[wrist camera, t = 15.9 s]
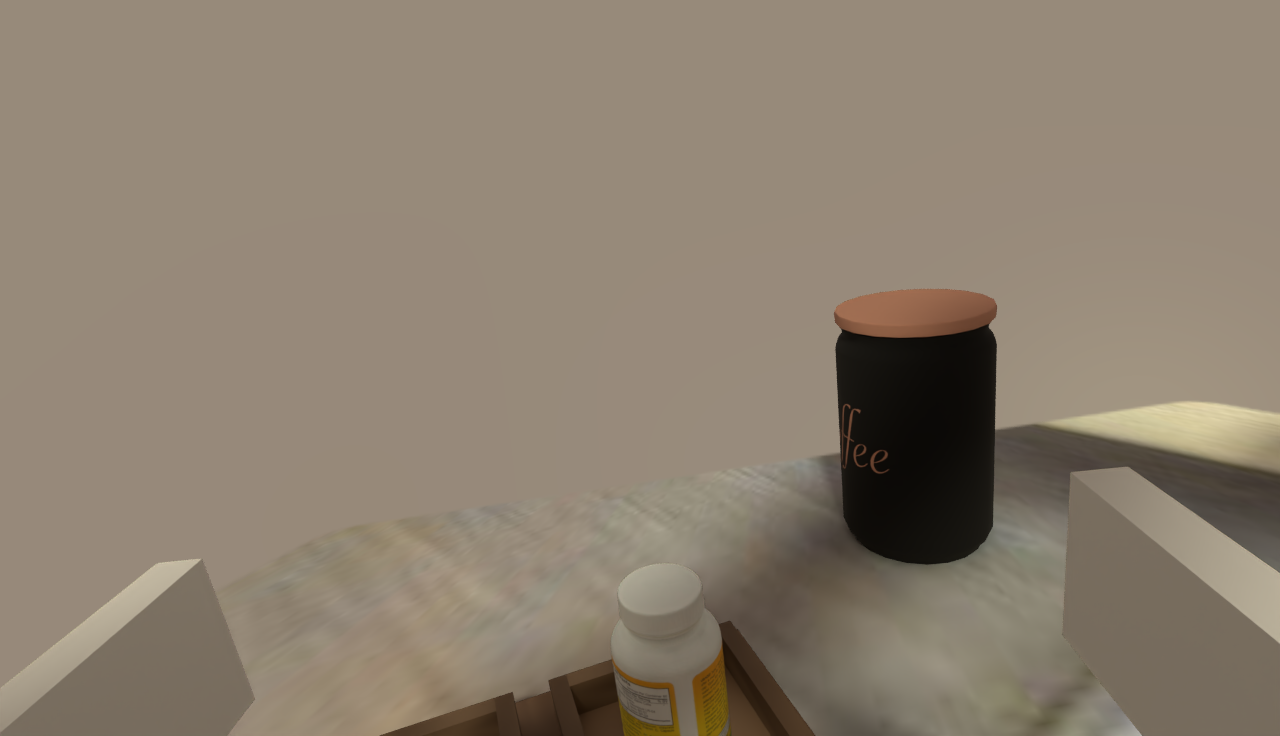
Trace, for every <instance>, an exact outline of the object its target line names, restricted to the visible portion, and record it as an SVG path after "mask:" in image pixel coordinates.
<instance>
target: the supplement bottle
mask: <svg viewBox="0 0 1280 736" xmlns="http://www.w3.org/2000/svg"><path fill="white" fill-rule="evenodd" d="M617 597H618V604H619V615H620V620H619V621H618V623H617V624H616V626H615V628H614V630H613V633H612V637H611V656H612V662H613V668H614V674H615V681H616V687H617V693H618V700H619V706H620V712H621V718H622V725H623V731H624V736H731V726H730V717H729V707H728V697H727V687H726V677H725V667H724V656H723V647H722V637H721V631H720V627H719V625H718V623H717V621H716V619H715V618H714V616H713V615H712V614H711V613H710V612H709V611H708V610H707V609H706V608H705V601H704V597H703V589H702V584H701V581H700V578H699V577H698V575H697V574H696V573H695V572H694V571H692V570H691V569H689V568H687V567H685V566H682V565H678V564H671V563H660V564H652V565H648V566H645V567H642V568H640V569H637V570H635V571H633V572H632V573H630V574H629V575H628V576H626V577H625V578H624V579H623V580H622V582H621V583H620V585H619V588H618V593H617Z"/></svg>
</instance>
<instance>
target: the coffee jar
mask: <svg viewBox="0 0 1280 736" xmlns="http://www.w3.org/2000/svg"><path fill="white" fill-rule="evenodd" d="M996 312H997V305H996V303H995V301H994V299H992V298H990V297H988V296H985V295H983V294H978V293H974V292H969V291H961V290H950V289H913V290H897V291H889V292H880V293H875V294H870V295H865V296H860V297H857V298H854V299H851V300H847V301H845V302H843V303H842V304H840V305H838V306H837V307H836V310H835V312H834V317H835V323H836V324H837V325H838V326H839V327H840V328H841V330H842V333H841V334H840V336H839V337H838V340H837V343H836V368H837V388H838V408H839V429H840V448H841V449H840V450H841V470H842V490H843V511H844V518H845V520H846V522H847V524H848V526H849V528H850V530H851V532H852V533H853V534H854V535H855V536H856V538H857V540H858V541H859V542H861V543H862V544H863V545H864V546H865V547H866V548H868V549H869V550H871V551H873V552H875V553H877V554H879V555H881V556H883V557H886V558H890V559H894V560H898V561H902V562H906V563H917V564H937V563H948V562H951V561H955V560H958V559H961V558H965V557H967V556H968V555H970V554H971V553H973V552H974V551H975V550H977V549H978V547H979V546H980V545H981V544H982V543H983V542H985V540H986V538H987V536H988V534H989V532H990V531H991V529H992V527H993V492H994V446H995V399H996V397H995V395H996V352H997V349H996V348H997V344H996V339H995V337H994V334H993V332H992V331H991V330H990V329H989V324H990V322H991V321H992V320H993V319H994V318H995V317H996Z"/></svg>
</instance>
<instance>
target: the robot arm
mask: <svg viewBox="0 0 1280 736" xmlns="http://www.w3.org/2000/svg"><path fill="white" fill-rule="evenodd" d="M1062 635H1063V636H1064V638H1065V639H1066V640H1067V641H1068V643H1069V644H1070V645H1071V647H1072V648H1073V649H1074V650H1075V652H1076V653H1077V654H1078V655H1079V657H1080V658H1081V659H1082V660H1083V662H1084V663H1085V664H1086V665H1087V667H1088V668H1089V669H1090V670H1091V672H1092V673H1093V674H1094V675H1095V677H1096V678H1097V679H1098V680H1099V682H1100V683H1101V684H1102V685H1103V687H1104V688H1105V689H1106V691H1107V692H1108V693H1109V694H1110V696H1111V697H1112V698H1113V699H1114V701H1115V702H1116V703H1117V704H1118V706H1119V707H1120V708H1121V709H1122V711H1123V712H1124V713H1125V714H1126V716H1127V717H1128V718H1129V719H1130V721H1131V722H1132V723H1133V724H1134V726H1135V727H1136V728H1137V730H1138V731H1139V732H1140V733H1141V735H1142V736H1280V573H1279V572H1277V571H1276V570H1275V569H1273V568H1272V567H1270V566H1269V565H1267V564H1266V563H1265V562H1263V561H1262V560H1260V559H1259V558H1257V557H1256V556H1255V555H1253V554H1252V553H1250V552H1249V551H1247V550H1246V549H1245V548H1243V547H1242V546H1240V545H1239V544H1238V543H1236V542H1235V541H1233V540H1232V539H1230V538H1229V537H1228V536H1226V535H1225V534H1223V533H1222V532H1220V531H1219V530H1218V529H1216V528H1215V527H1213V526H1212V525H1210V524H1209V523H1208V522H1206V521H1205V520H1203V519H1202V518H1200V517H1199V516H1198V515H1196V514H1195V513H1193V512H1192V511H1190V510H1189V509H1188V508H1186V507H1185V506H1183V505H1182V504H1181V503H1179V502H1178V501H1176V500H1175V499H1173V498H1172V497H1171V496H1169V495H1168V494H1166V493H1165V492H1163V491H1162V490H1161V489H1159V488H1158V487H1156V486H1155V485H1153V484H1152V483H1151V482H1149V481H1148V480H1146V479H1145V478H1143V477H1142V476H1141V475H1139V474H1138V473H1136V472H1135V471H1133V470H1132V469H1131V468H1129V467H1118V468H1107V469H1097V470H1087V471H1077V472H1070V492H1069V512H1068V532H1067V552H1066V572H1065V592H1064V612H1063V632H1062ZM254 700H255V697H254V694H253V691H252V689H251V686H250V683H249V681H248V678H247V676H246V673H245V670H244V668H243V665H242V662H241V660H240V657H239V654H238V652H237V649H236V646H235V644H234V641H233V639H232V636H231V633H230V631H229V628H228V625H227V623H226V620H225V617H224V615H223V612H222V610H221V607H220V604H219V602H218V599H217V596H216V594H215V591H214V589H213V586H212V583H211V580H210V578H209V575H208V573H207V570H206V567H205V565H204V562H203V559H193V560H183V561H173V562H164V563H157V564H156V565H154V566H153V567H152V568H151V569H149V570H148V571H147V572H146V573H144V574H143V575H142V576H141V577H139V578H138V579H137V580H136V581H134V582H133V583H132V584H131V585H129V586H128V587H127V588H126V589H124V590H123V591H122V592H120V593H119V594H118V595H117V596H115V597H114V598H113V599H112V600H110V601H109V602H108V603H107V604H105V605H104V606H103V607H102V608H100V609H99V610H98V611H97V612H95V613H94V614H93V615H92V616H91V617H89V618H88V619H87V620H85V621H84V622H83V623H82V624H80V625H79V626H78V627H77V628H75V629H74V630H73V631H71V632H70V633H69V634H68V635H66V636H65V637H64V638H63V639H62V640H60V641H59V642H58V643H57V644H55V645H54V646H53V647H51V648H50V649H49V650H48V651H46V652H45V653H44V654H43V655H41V656H40V657H39V658H38V659H36V660H35V661H34V662H33V663H31V664H30V665H29V666H28V667H26V668H25V669H24V670H22V671H21V672H20V673H19V674H17V675H16V676H15V677H14V678H12V679H11V680H10V681H9V682H7V683H6V684H5V685H4V686H2V687H1V688H0V736H227V735H228V734H229V732H230V731H231V730H232V729H233V727H234V726H235V725H236V723H237V722H238V721H239V719H240V718H241V717H242V716H243V714H244V713H245V712H246V710H247V709H248V708H249V706H250V705H251V704H252V703H253V701H254Z"/></svg>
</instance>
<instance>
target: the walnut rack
mask: <svg viewBox="0 0 1280 736" xmlns="http://www.w3.org/2000/svg"><path fill="white" fill-rule="evenodd" d="M718 625H719V627H720V631H721V637H722V647H723V656H724V667H725V677H726V687H727V697H728V707H729V717H730V726H731V736H815V735H814V733H813V732H812V730H811V729H810V728H809V726H808V725H807V724H806V722H805V721H804V719H803V718H802V717H801V715H800V714H799V713H798V711H797V710H796V709H795V707H794V706H793V704H792V703H791V702H790V700H789V699H788V698H787V696H786V695H785V693H784V692H783V691H782V689H781V688H780V687H779V685H778V684H777V683H776V681H775V680H774V678H773V677H772V676H771V674H770V673H769V672H768V670H767V669H766V667H765V666H764V665H763V663H762V662H761V661H760V659H759V658H758V657H757V655H756V654H755V652H754V651H753V650H752V648H751V647H750V646H749V644H748V643H747V642H746V640H745V639H744V637H743V636H742V635H741V633H740V632H739V631H738V629H736V628H735V627H734V626H733V624H732V623H731V621H728V622H724V623H721V624H718ZM549 685H550V690H551V691H549V692H546V693H543V694H540V695H537V696H534V697H531V698H528V699H525V700H522V701H519V702H516V703H515V701H514V696H513V692H511V693H508V694H505V695H502V696H499V697H496V698H493V699H490V700H487V701H484V702H481V703H478V704H475V705H471V706H468V707H465V708H462V709H459V710H456V711H453V712H450V713H447V714H444V715H441V716H438V717H435V718H432V719H429V720H426V721H423V722H420V723H417V724H414V725H411V726H407V727H404V728H401V729H398V730H395V731H392V732H389V733H386V734H383V735H380V736H624V731H623V725H622V718H621V712H620V706H619V700H618V693H617V687H616V681H615V674H614V668H613V662H612V660H609V661H606V662H603V663H600V664H596V665H593V666H590V667H587V668H584V669H581V670H578V671H575V672H572V673H569V674H566V675H563V676H560V677H557V678H554V679H551V680H549Z"/></svg>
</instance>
